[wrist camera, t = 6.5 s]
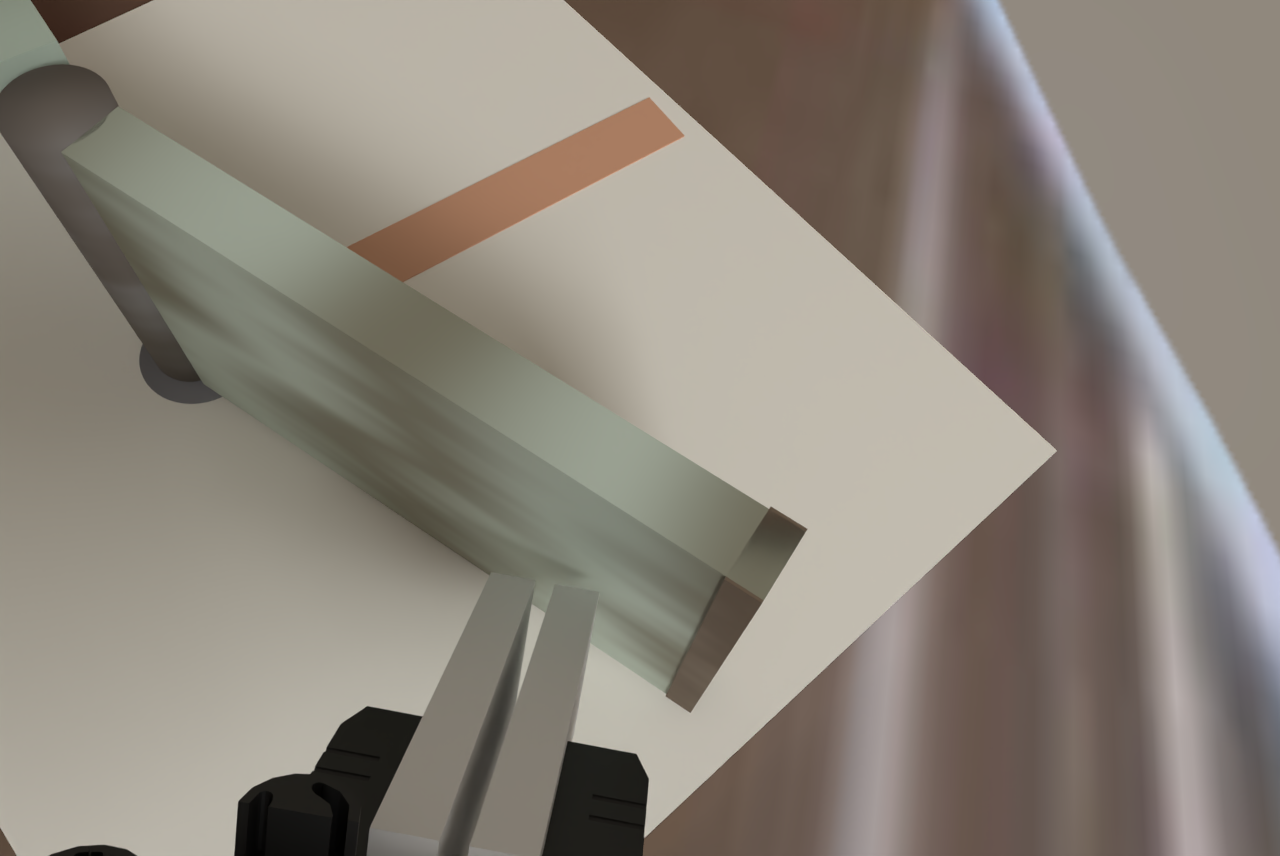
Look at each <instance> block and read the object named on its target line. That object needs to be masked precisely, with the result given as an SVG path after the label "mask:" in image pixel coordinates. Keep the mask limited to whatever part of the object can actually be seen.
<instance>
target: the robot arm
mask: <svg viewBox="0 0 1280 856" xmlns="http://www.w3.org/2000/svg"><path fill="white" fill-rule="evenodd" d="M534 587H535V580H531V579H526V578H520V577H515V576H510V575H504V574H499V573H494V572H491V574H490V576H489V578H488V580H487V582H486V584H485V586H484V588H483V590H482V593H481V595H480V597H479V599H478V601H477V603H476V605H475V607H474V609H473V611H472V614H471V616H470V618H469V620H468V622H467V624H466V626H465V628H464V630H463V632H462V635H461V637H460V639H459V641H458V643H457V645H456V647H455V649H454V651H453V654H452V656H451V658H450V660H449V662H448V664H447V666H446V668H445V670H444V672H443V675H442V677H441V679H440V681H439V683H438V685H437V687H436V689H435V691H434V694H433V696H432V698H431V700H430V702H429V704H428V706H427V708H426V710H425V712H424V715H423V716H418V715H413V714H407V713H402V712H397V711H391V710H386V709H381V708H375V707H370V706H367V707H365V708H364V709H362V710H361V711H359V712H358V713H356V714H355V715H353V716H352V717H350V718H349V719H347V720H346V721H344V722H343V723H341V724H340V726H339V727H338V729H337V731H336V732H335V734H334V736H333V737H332V739H331V741H330V742H329V744H328V746H327V748H326V751H325V752H323V754H322V756H321V757H320V759H319V760H318V762H317V764H316V765H315V769H314V771H312V772H311V774H297V773H295V774H290V775H285V776H280V777H274V778H271V779H269V780H267V781H265V782H263V783H261V784H258V785H256V786H254V787H252V788H251V789H250V790H249V791H248V792H247V793H246V794H245V795H244V796H243V797H242V798H241V799H240V800H239V801H238V809H237V823H236V837H235V851H234V856H642V855H643V844H644V832H645V831H644V828H645V820H646V806H647V797H648V785H649V778H648V776H647V774H646V772H645V770H644V768H643V766H642V764H641V762H640V760H639V758H638V756H637V754H635V753H629V752H624V751H619V750H613V749H608V748H603V747H597V746H592V745H587V744H581V743H576V742H572V740H573V736H574V731H575V725H576V720H577V714H578V709H579V703H580V697H581V692H582V686H583V681H584V675H585V670H586V664H587V658H588V653H589V647H590V642H591V636H592V631H593V625H594V619H595V614H596V608H597V603H598V597H599V592H596V591H590V590H585V589H580V588H574V587H569V586H564V585H558V584H555V586H554V589H553V592H552V595H551V598H550V601H549V604H548V607H547V610H546V613H545V616H544V619H543V622H542V625H541V629H540V632H539V635H538V638H537V641H536V644H535V647H534V650H533V653H532V656H531V659H530V662H529V665H528V668H527V671H526V675H525V678H524V681H523V684H522V687H521V690H520V693H519V696H518V699H517V694H518V687H519V681H520V675H521V669H522V662H523V656H524V650H525V643H526V637H527V631H528V624H529V618H530V612H531V606H532V599H533V593H534ZM516 700H517V702H516ZM49 856H137V855H135V854H134V853H132V852H130V851H129V850H127V849H123V848H119V847H114V846H109V845H89V846H77V847H74V848H70V849H67V850H63V851H60V852H57V853H53V854H51V855H49Z"/></svg>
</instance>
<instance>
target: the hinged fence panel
mask: <svg viewBox="0 0 1280 856" xmlns="http://www.w3.org/2000/svg"><path fill="white" fill-rule="evenodd" d="M0 133H1V135H2V136H3V138H4V139H5V140H6V142H7V143H8V145H9V146H10V148H11V149H12V151H13V152H14V154H15V155H16V157H17V158H18V160H19V161H20V163H21V164H22V166H23V167H24V169H25V170H26V172H27V173H28V175H29V176H30V178H31V179H32V180H33V182H34V183H35V185H36V186H37V188H38V189H39V191H40V192H41V194H42V195H43V197H44V198H45V200H46V201H47V203H48V204H49V206H50V207H51V209H52V210H53V212H54V213H55V215H56V216H57V218H58V219H59V220H60V222H61V223H62V225H63V226H64V228H65V229H66V231H67V232H68V234H69V235H70V237H71V238H72V240H73V241H74V243H75V244H76V246H77V247H78V249H79V250H80V252H81V253H82V255H83V256H84V258H85V259H86V261H87V262H88V263H89V265H90V266H91V268H92V269H93V271H94V272H95V274H96V275H97V277H98V278H99V280H100V281H101V283H102V284H103V286H104V287H105V289H106V290H107V292H108V293H109V295H110V296H111V298H112V299H113V301H114V302H115V303H116V305H117V306H118V308H119V309H120V311H121V312H122V314H123V315H124V317H125V318H126V320H127V321H128V323H129V324H130V326H131V327H132V329H133V330H134V332H135V333H136V335H137V336H138V338H139V339H140V341H141V342H142V343H143V345H144V346H145V348H146V349H147V351H148V352H149V354H150V355H151V357H152V358H153V360H154V361H155V363H156V364H157V366H158V367H159V369H160V370H161V371H162V372H163V373H164V374H166V375H167V376H169V377H171V378H173V379H175V380H179V381H185V382H194V381H202V382H203V384H204V385H206V386H207V387H209V388H210V389H212V390H213V391H215V392H216V393H218V394H219V395H221V396H222V397H224V398H225V399H227V400H228V401H230V402H231V403H233V404H234V405H236V406H237V407H239V408H240V409H242V410H243V411H245V412H246V413H248V414H249V415H251V416H252V417H254V418H255V419H257V420H258V421H260V422H261V423H263V424H264V425H266V426H267V427H269V428H270V429H271V430H273V431H274V432H276V433H277V434H279V435H280V436H282V437H283V438H285V439H286V440H288V441H289V442H291V443H292V444H294V445H295V446H297V447H298V448H300V449H301V450H303V451H304V452H306V453H307V454H309V455H310V456H312V457H313V458H315V459H316V460H318V461H319V462H321V463H322V464H324V465H325V466H327V467H328V468H330V469H331V470H333V471H334V472H336V473H337V474H339V475H340V476H342V477H343V478H345V479H346V480H348V481H349V482H351V483H352V484H354V485H355V486H357V487H358V488H360V489H361V490H363V491H364V492H366V493H367V494H369V495H370V496H372V497H373V498H375V499H376V500H377V501H379V502H380V503H382V504H383V505H385V506H386V507H388V508H389V509H391V510H392V511H394V512H395V513H397V514H398V515H400V516H401V517H403V518H404V519H406V520H407V521H409V522H410V523H412V524H413V525H415V526H416V527H418V528H419V529H421V530H422V531H424V532H425V533H427V534H428V535H430V536H431V537H433V538H434V539H436V540H437V541H439V542H440V543H442V544H443V545H445V546H446V547H448V548H449V549H451V550H452V551H454V552H455V553H457V554H458V555H460V556H461V557H463V558H464V559H466V560H467V561H469V562H470V563H472V564H473V565H475V566H476V567H478V568H479V569H481V570H482V571H483V572H485V573H486V574H488V575H489V576H490V574H491V572H494V573H499V574H504V575H510V576H515V577H520V578H526V579H531V580H535V587H534V593H533V599H532V604H533V605H534V606H536V607H537V608H539V609H540V610H542V611H543V612H545V613H546V610H547V607H548V604H549V601H550V598H551V595H552V592H553V589H554V586H555V584H558V585H564V586H569V587H574V588H580V589H585V590H590V591H596V592H599V597H598V603H597V608H596V614H595V619H594V625H593V631H592V636H591V642H590V643H591V644H592V645H594V646H595V647H597V648H598V649H600V650H601V651H603V652H604V653H606V654H607V655H609V656H610V657H612V658H613V659H615V660H616V661H618V662H619V663H621V664H622V665H624V666H625V667H627V668H628V669H630V670H631V671H633V672H634V673H636V674H637V675H639V676H640V677H642V678H643V679H645V680H646V681H648V682H649V683H651V684H652V685H654V686H655V687H657V688H658V689H660V690H661V691H663V692H664V693H666V697H667V698H669V699H670V700H672V701H673V702H675V703H676V704H678V705H679V706H681V707H682V708H684V709H685V710H687V711H688V712H690V713H691V711H692V710H693V708H694V707H695V705H696V704H697V702H698V701H699V699H700V698H701V696H702V695H703V693H704V692H705V690H706V689H707V687H708V685H709V684H710V682H711V681H712V679H713V678H714V676H715V675H716V673H717V672H718V670H719V669H720V667H721V666H722V664H723V662H724V661H725V659H726V658H727V656H728V655H729V653H730V652H731V650H732V649H733V647H734V646H735V644H736V643H737V641H738V639H739V638H740V636H741V635H742V633H743V632H744V630H745V629H746V627H747V626H748V624H749V623H750V621H751V620H752V618H753V616H754V615H755V613H756V612H757V610H758V609H759V607H760V606H761V604H762V603H763V601H764V599H765V598H766V596H767V594H768V593H769V591H770V590H771V588H772V586H773V585H774V583H775V581H776V580H777V578H778V577H779V575H780V573H781V572H782V570H783V568H784V567H785V565H786V563H787V562H788V560H789V559H790V557H791V555H792V554H793V552H794V550H795V549H796V547H797V546H798V544H799V542H800V541H801V539H802V537H803V536H804V534H805V532H806V531H807V528H805V527H804V526H802V525H800V524H799V523H797V522H795V521H794V520H792V519H791V518H789V517H787V516H786V515H784V514H783V513H781V512H779V511H778V510H776V509H774V508H773V507H770V508H769V509H768V508H767V507H765V506H763V505H762V504H760V503H759V502H757V501H755V500H754V499H752V498H751V497H749V496H747V495H746V494H744V493H742V492H741V491H739V490H738V489H736V488H734V487H733V486H731V485H730V484H728V483H726V482H725V481H723V480H721V479H720V478H718V477H717V476H715V475H713V474H712V473H710V472H709V471H707V470H705V469H704V468H702V467H700V466H699V465H697V464H696V463H694V462H692V461H691V460H689V459H688V458H686V457H684V456H683V455H681V454H679V453H678V452H676V451H675V450H673V449H671V448H670V447H668V446H667V445H665V444H663V443H662V442H660V441H658V440H657V439H655V438H654V437H652V436H650V435H649V434H647V433H646V432H644V431H642V430H641V429H639V428H637V427H636V426H634V425H633V424H631V423H629V422H628V421H626V420H625V419H623V418H621V417H620V416H618V415H616V414H615V413H613V412H612V411H610V410H608V409H607V408H605V407H603V406H602V405H600V404H599V403H597V402H595V401H594V400H592V399H591V398H589V397H587V396H586V395H584V394H582V393H581V392H579V391H578V390H576V389H574V388H573V387H571V386H570V385H568V384H566V383H565V382H563V381H561V380H560V379H558V378H557V377H555V376H553V375H552V374H550V373H549V372H547V371H545V370H544V369H542V368H540V367H539V366H537V365H536V364H534V363H532V362H531V361H529V360H528V359H526V358H524V357H523V356H521V355H519V354H518V353H516V352H515V351H513V350H511V349H510V348H508V347H507V346H505V345H503V344H502V343H500V342H498V341H497V340H495V339H494V338H492V337H490V336H489V335H487V334H486V333H484V332H482V331H481V330H479V329H477V328H476V327H474V326H473V325H471V324H469V323H468V322H466V321H465V320H463V319H461V318H460V317H458V316H456V315H455V314H453V313H452V312H450V311H448V310H447V309H445V308H444V307H442V306H440V305H439V304H437V303H435V302H434V301H432V300H431V299H429V298H427V297H426V296H424V295H422V294H421V293H419V292H418V291H416V290H414V289H413V288H411V287H410V286H408V285H406V284H405V283H403V282H401V281H400V280H398V279H397V278H395V277H393V276H392V275H390V274H389V273H387V272H385V271H384V270H382V269H380V268H379V267H377V266H376V265H374V264H372V263H371V262H369V261H368V260H366V259H364V258H363V257H361V256H359V255H358V254H356V253H355V252H353V251H351V250H350V249H348V248H347V247H345V246H343V245H342V244H340V243H338V242H337V241H335V240H334V239H332V238H330V237H329V236H327V235H326V234H324V233H322V232H321V231H319V230H317V229H316V228H314V227H313V226H311V225H309V224H308V223H306V222H305V221H303V220H301V219H300V218H298V217H296V216H295V215H293V214H292V213H290V212H288V211H287V210H285V209H284V208H282V207H280V206H279V205H277V204H275V203H274V202H272V201H271V200H269V199H267V198H266V197H264V196H263V195H261V194H259V193H258V192H256V191H254V190H253V189H251V188H250V187H248V186H246V185H245V184H243V183H242V182H240V181H238V180H237V179H235V178H233V177H232V176H230V175H229V174H227V173H225V172H224V171H222V170H220V169H219V168H217V167H216V166H214V165H212V164H211V163H209V162H208V161H206V160H204V159H203V158H201V157H199V156H198V155H196V154H195V153H193V152H191V151H190V150H188V149H187V148H185V147H183V146H182V145H180V144H178V143H177V142H175V141H174V140H172V139H170V138H169V137H167V136H166V135H164V134H162V133H161V132H159V131H157V130H156V129H154V128H153V127H151V126H149V125H148V124H146V123H145V122H143V121H141V120H140V119H138V118H136V117H135V116H133V115H132V114H130V113H128V112H127V111H125V110H124V109H122V108H120V107H119V105H118V103H117V101H116V99H115V97H114V95H113V94H112V92H111V90H110V88H109V86H108V84H107V83H106V81H105V80H104V79H103V78H102V77H101V76H99V75H98V74H97V73H95V72H93V71H91V70H89V69H86V68H84V67H80V66H75V65H66V64H59V65H49V66H44V67H39V68H36V69H33V70H30V71H28V72H26V73H24V74H22V75H20V76H18V77H17V78H15V79H14V80H12V81H11V82H10V83H9V84H8V85H7V86H6V87H5V88H4V89H3V90H2V91H1V93H0Z"/></svg>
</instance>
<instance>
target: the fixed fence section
mask: <svg viewBox="0 0 1280 856" xmlns="http://www.w3.org/2000/svg"><path fill="white" fill-rule="evenodd" d="M59 64H66V65H70V64H69V62H68V60H67V58H66V56H65V54H64V53H63V51H62V49H61V47H60V45H59V43H58V42H57V40H56V38H55V37H54V35H53V34H52V32H51V31H50V29H49V28H48V26H47V25H46V23H45V22H44V20H43V18H42V17H41V15H40V14H39V12H38V11H37V9H36V8H35V6H34V5H33V3H32V2H31V0H0V93H1V91H2V90H3V89H4V88H5V87H6V86H7V85H8V84H9V83H10V82H11V81H12V80H14V79H15V78H17V77H18V76H20V75H22V74H24V73H26V72H28V71H30V70H33V69H36V68H39V67H44V66H49V65H59Z"/></svg>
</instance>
